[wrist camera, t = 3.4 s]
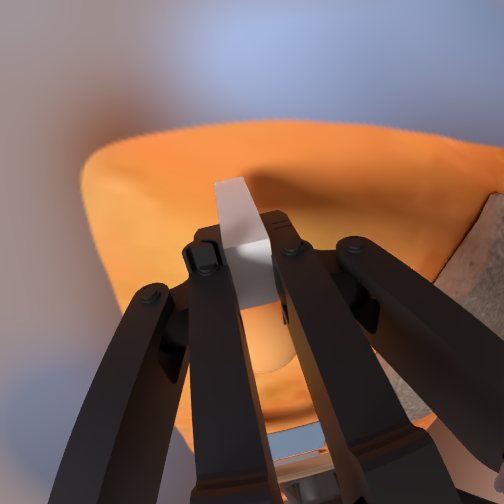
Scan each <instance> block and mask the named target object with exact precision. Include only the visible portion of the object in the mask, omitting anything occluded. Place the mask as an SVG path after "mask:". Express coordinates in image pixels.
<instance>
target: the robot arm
mask: <svg viewBox="0 0 504 504" xmlns="http://www.w3.org/2000/svg"><path fill="white" fill-rule="evenodd" d="M214 188H215V196H216V203H217V210H218V217H219V224H217V225H213V226H209V227H205V228H201V229H198V230H197V232H196V233H195V235H194V241H193V242H191V243H189V244H188V245H187V246H186V247H185V248H184V249H183V251H182V255H183V258H184V261H185V264H186V267H187V270H188V273H189V278H188V280H186V281H185V282H184V283H182V284H180V285H178V286H176V287H174V288H172V289H170V290H169V288H168V286H167V285H165V284H163V283H152V284H149V285H146V286H144V287H142V288H141V289H140V290H138V291H137V292H136V293H135V295H134V296H133V298H132V300H131V302H130V304H129V306H128V307H127V309H126V311H125V313H124V315H123V317H122V319H121V321H120V324H119V326H118V327H117V329H116V332H115V334H114V336H113V338H112V340H111V342H110V344H109V346H108V348H107V351H106V353H105V355H104V357H103V359H102V361H101V363H100V366H99V368H98V370H97V372H96V375H95V377H94V379H93V381H92V384H91V386H90V388H89V391H88V393H87V395H86V398H85V400H84V403H83V405H82V407H81V410H80V412H79V415H78V417H77V420H76V422H75V425H74V428H73V430H72V433H71V436H70V438H69V441H68V443H67V446H66V449H65V452H64V455H63V458H62V460H61V463H60V466H59V469H58V472H57V475H56V478H55V481H54V485H53V488H52V491H51V494H50V498H49V501H48V504H156V502H157V497H158V493H159V488H160V483H161V478H162V474H163V469H164V465H165V461H166V456H167V452H168V447H169V443H170V438H171V434H172V430H173V426H174V422H175V418H176V414H177V409H178V405H179V401H180V397H181V393H182V389H183V385H184V381H185V377H186V373H187V369H188V366H189V362H190V389H191V408H192V425H193V439H194V452H195V463H196V474H197V482H196V486H195V487H194V489H193V490H192V492H191V497H190V504H284V503H283V499H282V496H281V493H280V489H279V484H278V480H277V476H276V472H275V467H274V463H273V459H272V454H271V450H270V446H269V441H268V437H267V433H266V428H265V424H264V419H263V415H262V410H261V405H260V401H259V396H258V392H257V387H256V382H255V378H254V373H253V368H252V363H251V359H250V354H249V349H248V344H247V339H246V334H245V329H244V325H243V320H242V316H241V312H240V310H244V309H249V308H253V307H257V306H261V305H266V304H270V303H274V302H278V301H279V298H280V301H281V308H282V315H283V322H284V325H286V324H287V327H288V330H289V333H290V336H291V339H292V342H293V345H294V348H295V351H296V354H297V356H298V359H299V362H300V365H301V368H302V371H303V374H304V377H305V380H306V383H307V386H308V389H309V392H310V395H311V398H312V401H313V404H314V407H315V410H316V413H317V416H318V419H319V422H320V425H321V428H322V431H323V434H324V437H325V440H326V443H327V446H328V449H329V452H330V455H331V458H332V462H333V465H334V469H331V470H327V471H324V472H321V473H317V474H314V475H310V476H306V477H302V478H298V479H294V480H290V481H286V482H281V483H280V486H281V490H282V491H283V493H284V494H285V496H286V497H287V499H288V500H289V501H290V503H291V504H497V503H495V502H492V501H489V500H486V499H483V498H480V497H478V496H475V495H472V494H470V493H467V492H465V491H462V490H459V489H457V488H455V486H454V483H453V481H452V479H451V477H450V475H449V472H448V470H447V468H446V466H445V464H444V462H443V460H442V457H441V455H440V453H439V451H438V449H437V447H436V445H435V443H434V441H433V439H432V438H431V436H430V435H429V433H428V432H426V431H425V430H424V429H423V428H420V427H416V426H414V425H413V424H412V423H411V421H410V420H409V418H408V416H407V414H406V412H405V410H404V408H403V406H402V404H401V402H400V400H399V398H398V396H397V394H396V393H395V391H394V389H393V387H392V385H391V383H390V381H389V379H388V377H387V375H386V373H385V372H384V370H383V368H382V366H381V364H380V362H379V360H378V358H377V357H376V355H375V353H374V351H373V349H372V347H373V348H374V349H375V350H376V351H377V352H378V353H379V355H380V356H381V357H382V358H383V359H384V360H385V361H386V362H387V363H388V364H389V365H390V366H391V367H392V368H393V369H394V370H395V371H396V373H397V374H398V375H399V376H400V377H401V378H402V379H403V380H404V381H405V382H406V383H407V384H408V385H409V386H410V387H411V388H412V390H413V391H414V392H415V393H416V394H417V395H418V396H419V397H420V398H421V399H422V400H423V401H424V402H425V404H426V405H427V406H428V407H429V408H430V409H431V410H432V411H433V412H434V413H435V414H436V415H437V417H438V418H439V419H440V420H441V421H442V422H443V423H444V424H445V425H446V426H447V427H448V429H449V430H450V431H451V432H452V433H453V434H454V435H455V436H456V437H457V439H458V440H459V441H460V442H461V443H462V444H463V445H464V446H465V447H466V449H467V450H468V451H469V452H470V453H471V454H473V455H474V456H475V458H477V459H478V460H479V461H480V462H481V463H483V464H484V465H486V466H487V467H488V468H490V469H492V470H493V471H495V472H497V473H499V475H498V476H497V478H496V479H495V482H494V488H495V490H496V491H497V492H503V493H504V340H502V339H501V338H500V337H499V336H498V335H497V334H495V333H494V332H493V331H492V330H491V329H489V328H488V327H487V326H486V325H485V324H483V323H482V322H481V321H480V320H478V319H477V318H476V317H475V316H473V315H472V314H471V313H470V312H468V311H467V310H466V309H465V308H463V307H462V306H461V305H460V304H458V303H457V302H456V301H454V300H453V299H452V298H451V297H449V296H448V295H447V294H445V293H444V292H443V291H441V290H440V289H439V288H437V287H436V286H435V285H433V284H432V283H431V282H429V281H428V280H427V279H425V278H424V277H422V276H421V275H420V274H418V273H417V272H416V271H414V270H413V269H411V268H410V267H409V266H407V265H406V264H404V263H403V262H401V261H400V260H399V259H397V258H396V257H394V256H393V255H391V254H390V253H389V252H387V251H386V250H384V249H383V248H381V247H380V246H378V245H377V244H375V243H374V242H372V241H371V240H369V239H367V238H365V237H360V236H350V237H346V238H343V239H341V240H340V241H338V243H337V244H336V250H316V249H314V248H313V247H312V245H311V244H310V243H309V242H308V241H305V240H302V239H301V238H300V236H299V235H298V233H297V231H296V230H295V228H294V226H293V225H292V223H291V221H290V220H289V218H288V216H287V215H286V214H285V213H283V212H281V211H279V210H276V211H271V212H266V213H262V214H259V213H258V211H257V208H256V206H255V204H254V201H253V199H252V197H251V195H250V192H249V190H248V188H247V185H246V183H245V181H244V179H243V176H242V177H237V178H232V179H228V180H224V181H219V182H215V183H214ZM278 295H279V296H278ZM370 345H371V346H372V347H371V346H370Z"/></svg>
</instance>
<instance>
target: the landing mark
mask: <svg viewBox="0 0 504 504" xmlns="http://www.w3.org/2000/svg"><path fill="white" fill-rule="evenodd" d="M267 437H268V441H269V446H270V450H271V454H272V459H273V460H275V459H280V458H284V457H288V456H292V455H296V454H300V453H304V452H308V451H311V450H315V449H318V448H322V447H324V446H325V437H324V434H323V431H322V428H321V425H320V422H319V421H318V422H314V423H311V424H307V425H303V426H300V427H296V428H292V429H288V430H284V431H280V432H276V433H271V434H267Z"/></svg>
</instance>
